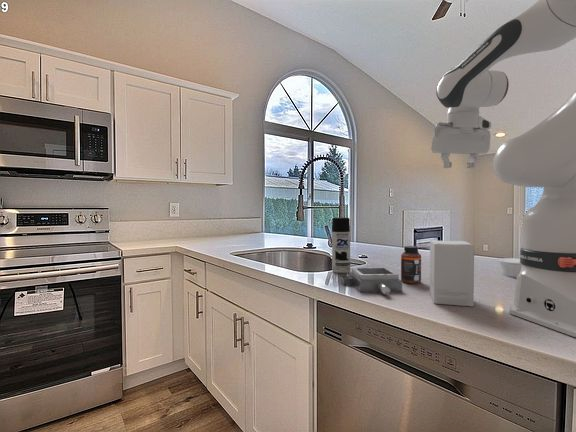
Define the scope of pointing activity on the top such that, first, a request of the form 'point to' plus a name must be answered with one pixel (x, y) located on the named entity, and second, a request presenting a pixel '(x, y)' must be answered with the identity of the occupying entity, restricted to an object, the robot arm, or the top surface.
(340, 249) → the spray can
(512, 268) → the ramekin
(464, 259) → the supplement box
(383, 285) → the grey square tray
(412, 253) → the supplement bottle
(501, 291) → the top surface
